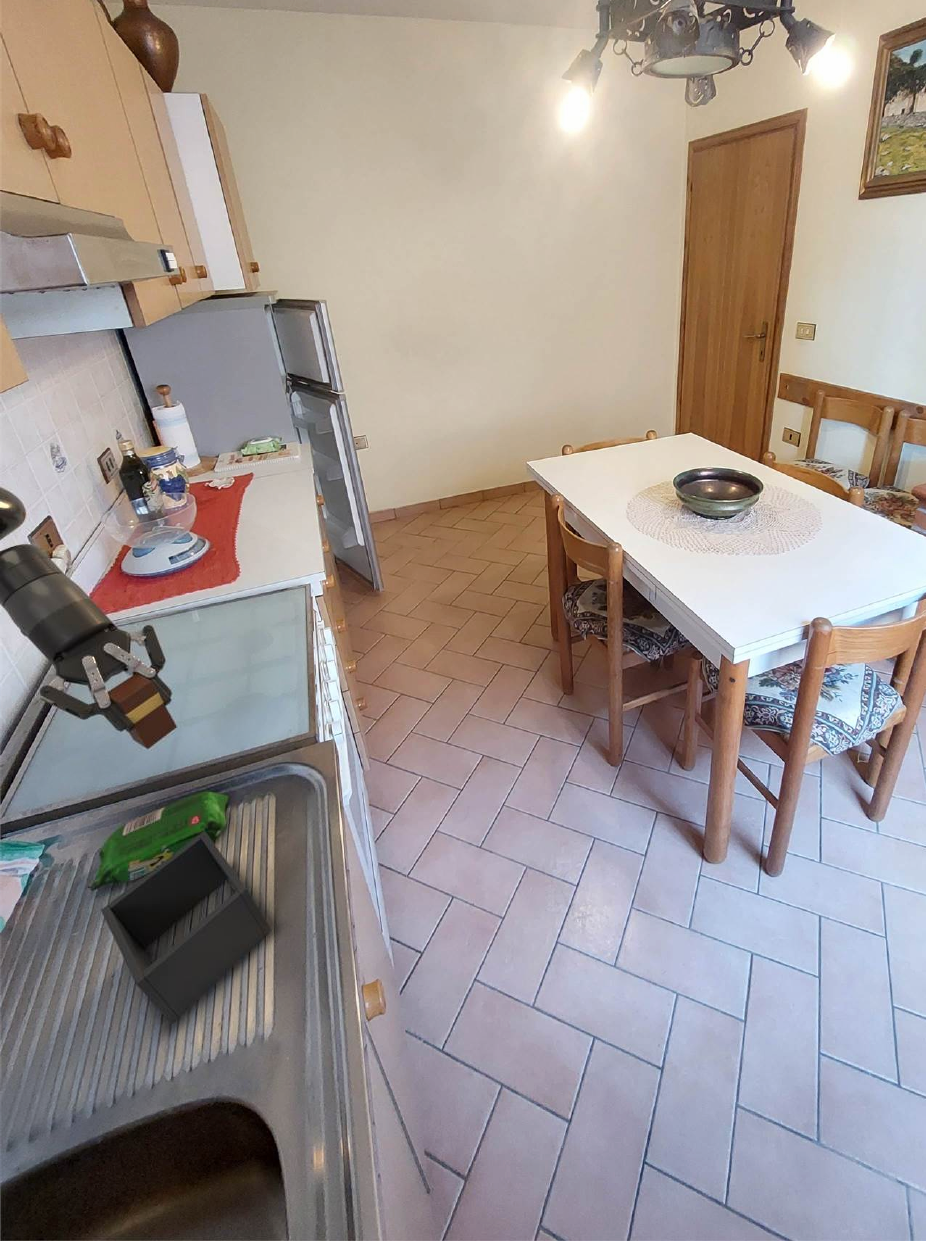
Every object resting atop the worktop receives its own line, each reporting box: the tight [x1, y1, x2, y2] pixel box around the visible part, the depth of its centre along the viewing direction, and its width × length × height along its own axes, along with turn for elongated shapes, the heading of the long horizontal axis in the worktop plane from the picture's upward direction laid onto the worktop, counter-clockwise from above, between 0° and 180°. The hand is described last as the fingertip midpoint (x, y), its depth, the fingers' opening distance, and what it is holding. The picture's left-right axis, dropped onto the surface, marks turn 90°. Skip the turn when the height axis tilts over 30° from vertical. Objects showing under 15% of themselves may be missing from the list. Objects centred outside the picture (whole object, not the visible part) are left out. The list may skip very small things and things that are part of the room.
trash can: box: [100, 831, 272, 1025], centre depth 64 cm, size 11×11×10 cm
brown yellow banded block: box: [107, 673, 178, 750], centre depth 75 cm, size 4×4×8 cm
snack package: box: [87, 791, 229, 892], centre depth 76 cm, size 7×16×5 cm, turn 118°
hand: (150, 715), depth 74 cm, fingers closed on brown yellow banded block, 4 cm apart
